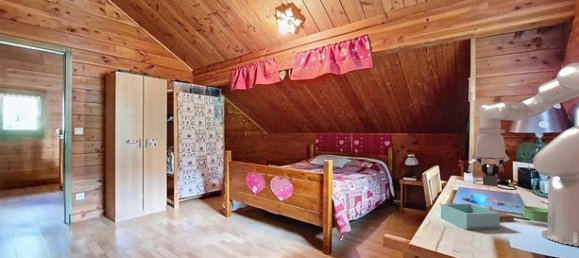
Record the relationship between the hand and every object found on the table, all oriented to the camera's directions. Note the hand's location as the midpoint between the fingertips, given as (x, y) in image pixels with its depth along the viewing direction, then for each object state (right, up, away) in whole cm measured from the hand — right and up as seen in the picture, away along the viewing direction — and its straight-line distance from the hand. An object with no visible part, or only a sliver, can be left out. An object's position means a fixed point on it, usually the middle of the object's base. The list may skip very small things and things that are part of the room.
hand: (490, 173), depth 119 cm
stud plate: (0, -19, 0) cm, 19 cm away
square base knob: (0, -5, 0) cm, 5 cm away
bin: (-15, -19, -9) cm, 26 cm away
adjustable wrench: (+26, -20, +18) cm, 38 cm away
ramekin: (+19, -20, -1) cm, 27 cm away
